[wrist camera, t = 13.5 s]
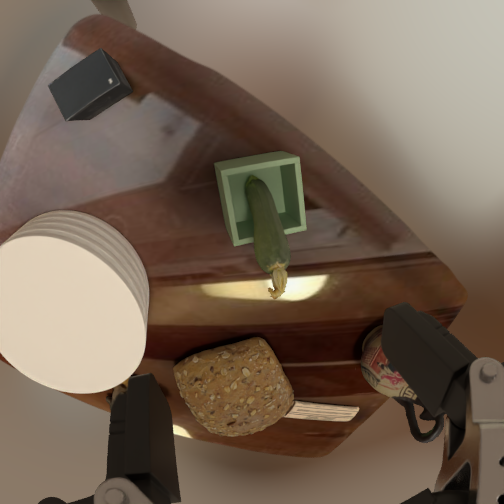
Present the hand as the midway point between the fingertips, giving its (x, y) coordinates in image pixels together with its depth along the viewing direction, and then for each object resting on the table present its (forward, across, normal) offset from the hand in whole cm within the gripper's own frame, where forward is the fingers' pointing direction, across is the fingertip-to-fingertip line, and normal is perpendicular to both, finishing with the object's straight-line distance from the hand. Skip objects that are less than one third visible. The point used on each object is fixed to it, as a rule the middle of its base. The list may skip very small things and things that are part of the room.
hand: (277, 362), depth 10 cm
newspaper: (+40, -18, +67) cm, 80 cm away
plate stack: (+40, +26, +14) cm, 50 cm away
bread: (+40, +2, +43) cm, 59 cm away
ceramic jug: (+40, -32, +46) cm, 69 cm away
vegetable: (+40, -8, +4) cm, 40 cm away
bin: (+40, -8, +5) cm, 41 cm away
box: (+40, +11, -15) cm, 44 cm away
